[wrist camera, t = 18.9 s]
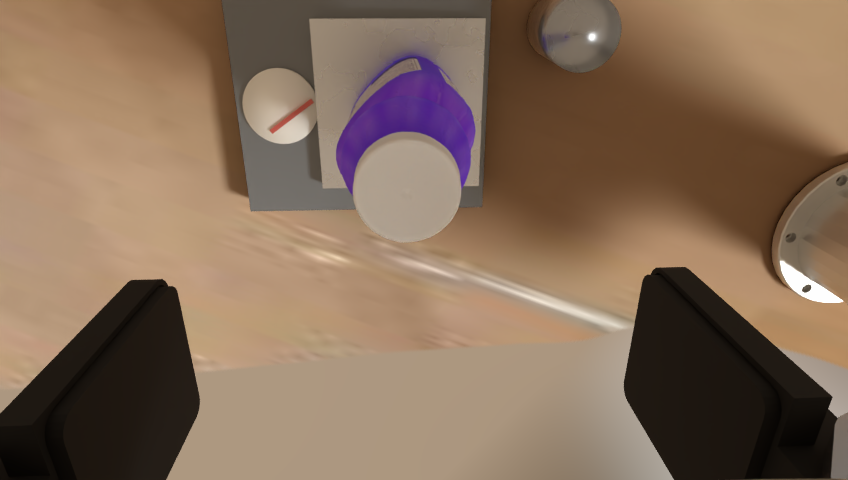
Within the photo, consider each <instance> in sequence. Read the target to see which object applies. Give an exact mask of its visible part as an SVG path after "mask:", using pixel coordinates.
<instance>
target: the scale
mask: <svg viewBox="0 0 848 480" xmlns="http://www.w3.org/2000/svg"><path fill="white" fill-rule="evenodd" d="M491 2H492V0H222V7H223V14H224V21H225V29H226V36H227V43H228V50H229V57H230V65H231V72H232V79H233V86H234V93H235V101H236V108H237V115H238V122H239V129H240V137H241V144H242V151H243V158H244V166H245V173H246V180H247V187H248V194H249V202H250V209H251V211H293V210H348V209H356V207H355V204H354V200H353V196H352V194H351V193H350V192H349V190H348V188H326V189H323V185H322V172H321V160H320V147H319V135H318V122H317V110H316V97H315V85H314V72H313V60H312V47H311V35H310V22H309V19H311V18H486V25H485V49H484V73H483V96H482V120H481V144H480V168H479V186H463V188H462V190H461V199H460V204H459V207H482V200H483V178H484V156H485V134H486V112H487V90H488V68H489V46H490V24H491Z"/></svg>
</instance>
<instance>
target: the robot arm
mask: <svg viewBox="0 0 848 480" xmlns="http://www.w3.org/2000/svg"><path fill="white" fill-rule="evenodd" d="M772 262H773V265H774V268H775V271H776V273H777V275H778V276H779V278H780V279H781V281H782V282H783V283H784V284H785V285H786V286H787V287H788V288H790V289H791V290H792V291H794V292H795V293H797V294H798V295H799V296H801V297H804V298H806V299H809V300H812V301H816V302H823V303H838V302H845V303H847V304H848V162H847V163H845V164H842V165H839V166H837V167H834V168H832V169H831V170H829V171H827V172H825V173H823V174H821V175H820V176H818V177H817V178H816V179H814V180H813V181H812V182H810V183H809V184H808V185H806V186H805V187H804V188H803V189H802V190H801V191H800V192H799V193H798V194H797V195H796V196H795V197H794V199H793V200H792V201H791V203H790V204H789V205H788V207H787V208H786V209H785V211H784V213H783V215H782V217H781V218H780V220H779V222H778V224H777V227H776V230H775V233H774V236H773V243H772ZM624 391H625V396H626V399H627V401H628V403H629V404H630V406H631V408H632V410H633V411H634V413H635V415H636V416H637V418H638V420H639V421H640V423H641V425H642V426H643V428H644V430H645V431H646V433H647V435H648V437H649V438H650V440H651V442H652V443H653V445H654V447H655V448H656V450H657V452H658V453H659V455H660V457H661V458H662V460H663V462H664V464H665V465H666V467H667V468H668V470H669V472H670V474H671V475H672V477H673V479H674V480H848V413H846V414H844V415H842V416H840V417H838V418H837V417H836V416H835V415H834V414H833V413H832V412H831V411H830V410H828V408H829V405H830V402H831V400H832V396H831V395H830V394H829V393H828V392H826V391H825V390H824V389H823V388H822V387H821V386H819V385H818V384H817V383H816V382H815V381H814V380H813V379H812V378H810V377H809V376H808V375H807V374H806V373H805V372H804V371H803V370H802V369H800V368H799V367H798V366H797V365H796V364H795V363H794V362H793V361H792V360H790V359H789V358H788V357H787V356H786V355H785V354H783V352H781V351H780V350H779V349H778V348H777V347H776V346H775V345H773V344H772V343H771V342H770V341H769V340H768V339H767V338H766V337H764V336H763V335H762V334H761V333H760V332H759V331H758V330H757V329H755V328H754V327H753V326H752V325H751V324H750V323H749V322H748V321H746V320H745V319H744V318H743V317H742V316H741V315H740V314H739V313H737V312H736V311H735V310H734V309H733V308H732V307H731V306H730V305H728V304H727V303H726V302H725V301H724V300H723V299H722V298H721V297H719V296H718V295H717V294H716V293H715V292H714V291H713V290H712V289H710V288H709V287H708V286H707V285H706V284H705V283H704V282H703V281H701V280H700V279H699V278H698V277H697V276H696V275H695V274H693V273H692V272H691V271H690V270H689V269H687V268H686V267H668V268H655V269H654V270H653V271H652V273H651V275H646V276H645V277H644V279H643V282H642V287H641V292H640V298H639V303H638V309H637V314H636V319H635V325H634V330H633V336H632V342H631V347H630V352H629V358H628V363H627V368H626V374H625V379H624ZM199 405H200V398H199V392H198V387H197V383H196V378H195V373H194V368H193V363H192V359H191V354H190V349H189V344H188V340H187V335H186V330H185V325H184V321H183V316H182V311H181V306H180V302H179V297H178V293H177V290H176V288H175V287H173V286H168V285H167V283H166V281H164V280H163V279H157V280H131V281H129V282H128V283H127V284H126V285H125V286H124V287H123V288H122V289H121V290H120V291H119V292H118V293H117V294H116V295H115V296H114V297H113V298H112V299H111V300H110V301H109V302H108V303H107V305H106V306H105V307H104V308H103V309H102V310H101V311H100V312H99V313H98V314H97V315H96V316H95V317H94V318H93V319H92V320H91V321H90V322H89V323H88V324H87V325H86V326H85V327H84V328H83V329H82V330H81V331H80V332H79V333H78V334H77V335H76V336H75V337H74V338H73V339H72V340H71V341H70V343H69V344H68V345H67V346H66V347H65V348H64V349H63V350H62V351H61V352H60V353H59V354H58V355H57V356H56V357H55V358H54V359H53V360H52V361H51V362H50V363H49V364H48V365H47V366H46V367H45V368H44V369H43V370H42V371H41V372H40V373H39V374H38V375H37V376H36V377H35V378H34V379H33V381H32V382H31V383H30V384H29V385H28V386H27V387H26V388H25V389H24V390H23V391H22V392H21V393H20V394H19V395H18V396H17V397H16V398H15V399H14V400H13V401H12V402H11V403H10V404H9V405H8V406H7V407H6V408H5V409H4V410H3V411H2V412H1V413H0V480H166V479H167V477H168V474H169V472H170V470H171V468H172V466H173V464H174V462H175V460H176V458H177V456H178V454H179V452H180V450H181V448H182V446H183V444H184V442H185V440H186V437H187V435H188V433H189V431H190V429H191V427H192V425H193V423H194V421H195V419H196V417H197V414H198V411H199Z"/></svg>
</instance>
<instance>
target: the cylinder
mask: <svg viewBox="0 0 848 480" xmlns="http://www.w3.org/2000/svg"><path fill="white" fill-rule="evenodd" d="M527 35H528V39H529V42H530V44H531V46H532V47H533V48H534V50H535V51H536V52H537V53H539V54H540V55H542V56H543V57H545V58H547V59H548V60H550V61H551V62H553V63H555V64H556V65H558V66H560V67H561V68H563V69H565V70H567V71H570V72H575V73H583V72H588V71H592V70H594V69H596V68H598V67H600V66H601V65H603V64H604V63H605V62H606V61H607V60H608V59H609V58H610V57H611V56H612V54H613V53H614V51H615V50H616V48H617V46H618V43H619V40H620V36H621V20H620V16H619V13H618V11H617V9H616V7H615V6H614V5H613V4H612V3H611V2H610V1H609V0H539V1H538V2H537V3H536V4H535V6H534V7H533V9H532V11H531V13H530V15H529V18H528V22H527Z"/></svg>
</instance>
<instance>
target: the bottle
mask: <svg viewBox="0 0 848 480" xmlns="http://www.w3.org/2000/svg"><path fill="white" fill-rule="evenodd" d="M475 131H476V130H475V123H474V118H473V114H472V111H471V108H470V107H469V105H468V104H467V102H466V101H465V99H464V98H463V96H462V95H461V94H460V92H459V90H458V89H457V88H456V86H455V85H454V84H453V83H452V81H451V79H450V78H449V76H448V75H447V74H446V73H445V72H444V71H443V70H442V69H441V68H440V67H439V66H437V65H435V64H434V63H433V62H432V61H430V60H428V59H426V58H424V57H420V56H406V57H403V58H400V59H398V60H396V61H395V62H393V63H391V64H390V65H388V66H387V67H386V68H385V69H383V70H382V71H381V72H380V73H379V74H378V75H377V76H376V77H375V78H374V79H373V80H372V81H371V82H370V83H369V84H368V86H367V87H366V88H365V89H364V91H363V92H362V93H361V95H360V96H359V97H358V99H357V101H356V102H355V104H354V106H353V108H352V111H351V114H350V117H349V120H348V122H347V124H346V127H345V128H344V130H343V132H342V134H341V136H340V138H339V141H338V143H337V148H336V161H337V165H338V168H339V171H340V174H342V177H343V179H344V181H345V183H346V186H347V188H348V190H349V192H350V193H351V194H352V196H353V200H354V204H355V207H356V210H357V212H358V214H359V216H360V217H361V219H362V220H363V222H364V223H365V224H366V225H367V226H368V227H369V228H370V229H371V230H372V231H373V232H375V233H377V234H378V235H380V236H382V237H383V238H386V239H388V240H392V241H397V242H405V243H407V242H417V241H421V240H424V239H428V238H430V237H432V236H434V235H436V234H437V233H439V232H440V231H441V230H442V229H444V228H445V227H446V226H447V225H448V224H449V223H450V221H451V220H452V219H453V217H454V215H455V214H456V212H457V210H458V207H459V204H460V199H461V190H462V188H463V186H464V184H465V182H466V179H467V176H468V173H469V170H470V166H471V148H472V146H473V143H474V138H475Z"/></svg>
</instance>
